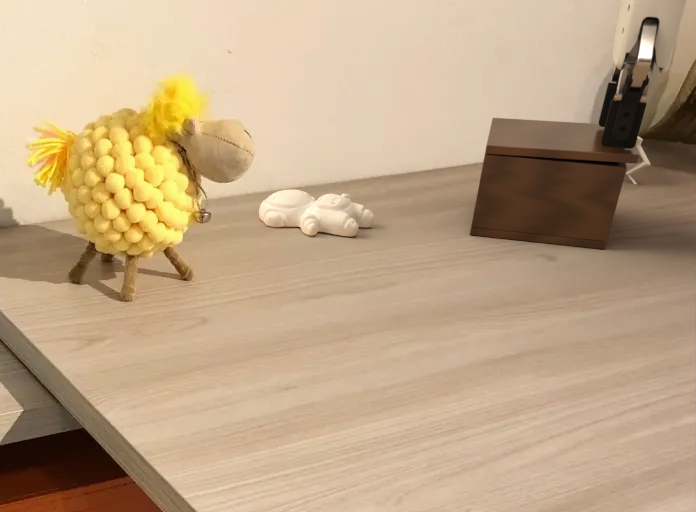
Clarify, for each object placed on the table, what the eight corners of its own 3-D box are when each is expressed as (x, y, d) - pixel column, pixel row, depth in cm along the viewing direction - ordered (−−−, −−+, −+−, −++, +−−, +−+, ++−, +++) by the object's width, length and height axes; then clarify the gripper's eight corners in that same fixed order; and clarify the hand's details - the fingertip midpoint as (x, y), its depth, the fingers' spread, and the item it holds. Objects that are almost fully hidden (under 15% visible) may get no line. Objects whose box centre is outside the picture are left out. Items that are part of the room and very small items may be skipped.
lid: (630, 134, 109) (642, 85, 106) (636, 163, 100) (650, 111, 97) (491, 125, 112) (499, 77, 109) (484, 153, 103) (493, 102, 100)
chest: (601, 214, 114) (621, 137, 110) (604, 249, 105) (627, 167, 100) (476, 201, 117) (491, 126, 112) (469, 235, 108) (484, 154, 103)
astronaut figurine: (342, 244, 104) (345, 213, 102) (243, 220, 109) (245, 190, 107) (382, 224, 110) (386, 194, 108) (286, 202, 115) (289, 173, 113)
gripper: (726, -66, 86) (660, 162, 97) (704, -81, 99) (648, 121, 110) (632, -71, 87) (578, 154, 98) (623, -85, 100) (575, 115, 111)
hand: (615, 135), depth 104 cm, fingers open, 7 cm apart
